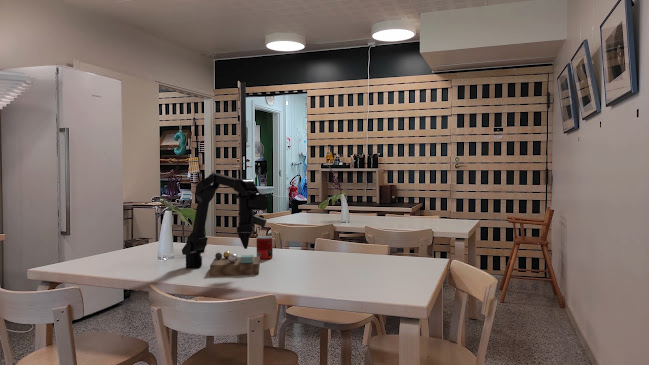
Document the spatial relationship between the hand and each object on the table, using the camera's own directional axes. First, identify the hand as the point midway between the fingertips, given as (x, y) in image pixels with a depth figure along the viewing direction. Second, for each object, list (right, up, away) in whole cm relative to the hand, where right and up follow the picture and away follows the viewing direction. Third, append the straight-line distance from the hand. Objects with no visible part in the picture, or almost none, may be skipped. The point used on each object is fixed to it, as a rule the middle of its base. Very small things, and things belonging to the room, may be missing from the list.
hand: (246, 247), depth 191 cm
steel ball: (-7, -6, +7) cm, 11 cm away
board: (-6, -12, +12) cm, 18 cm away
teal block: (-1, -7, +8) cm, 10 cm away
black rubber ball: (-15, -6, +16) cm, 23 cm away
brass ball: (-12, -6, +18) cm, 22 cm away
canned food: (+2, -12, +42) cm, 44 cm away
